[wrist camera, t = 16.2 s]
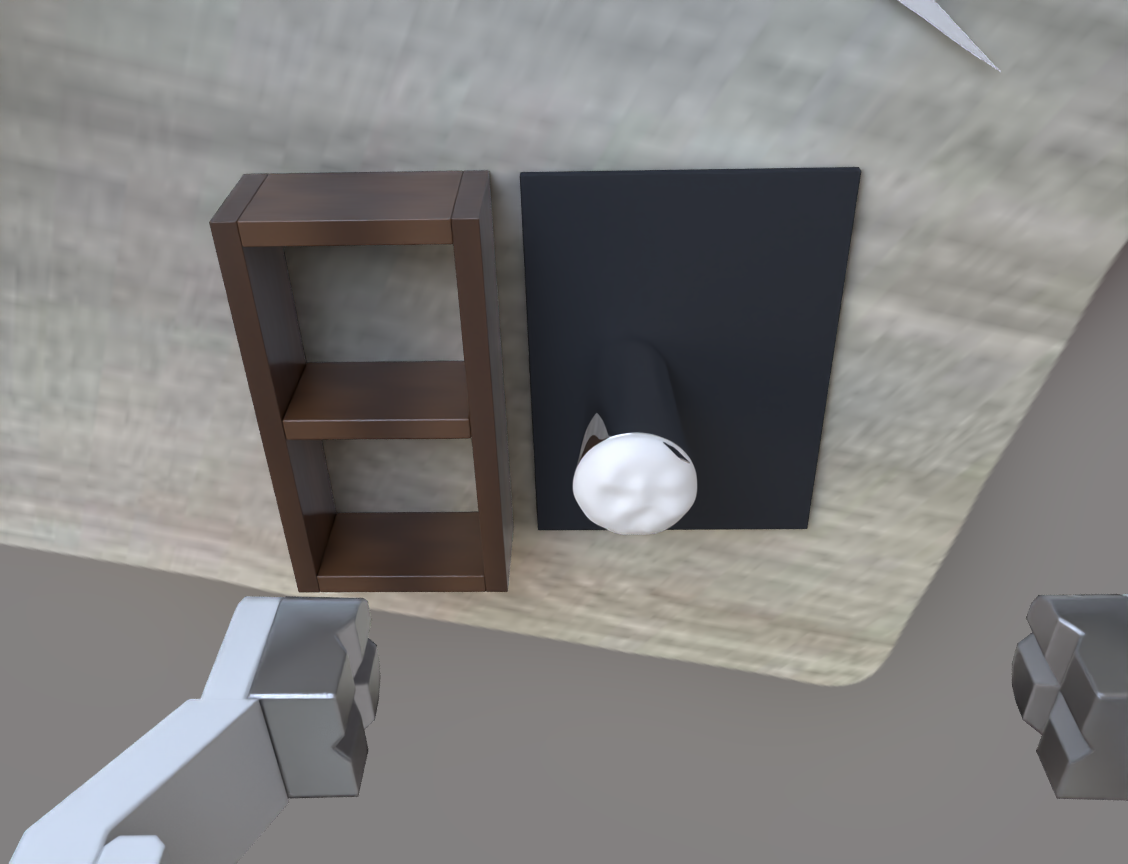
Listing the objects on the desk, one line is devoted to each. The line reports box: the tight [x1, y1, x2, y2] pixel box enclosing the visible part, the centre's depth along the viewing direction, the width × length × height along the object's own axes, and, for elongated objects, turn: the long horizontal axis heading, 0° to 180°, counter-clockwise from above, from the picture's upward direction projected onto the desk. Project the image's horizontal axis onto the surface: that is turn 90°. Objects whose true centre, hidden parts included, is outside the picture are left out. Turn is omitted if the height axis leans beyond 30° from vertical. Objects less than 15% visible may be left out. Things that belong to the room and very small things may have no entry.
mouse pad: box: [520, 167, 861, 530], centre depth 45 cm, size 13×18×1 cm
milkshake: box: [573, 338, 697, 535], centre depth 40 cm, size 5×5×10 cm
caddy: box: [209, 170, 514, 592], centre depth 43 cm, size 10×18×4 cm, turn 1°
